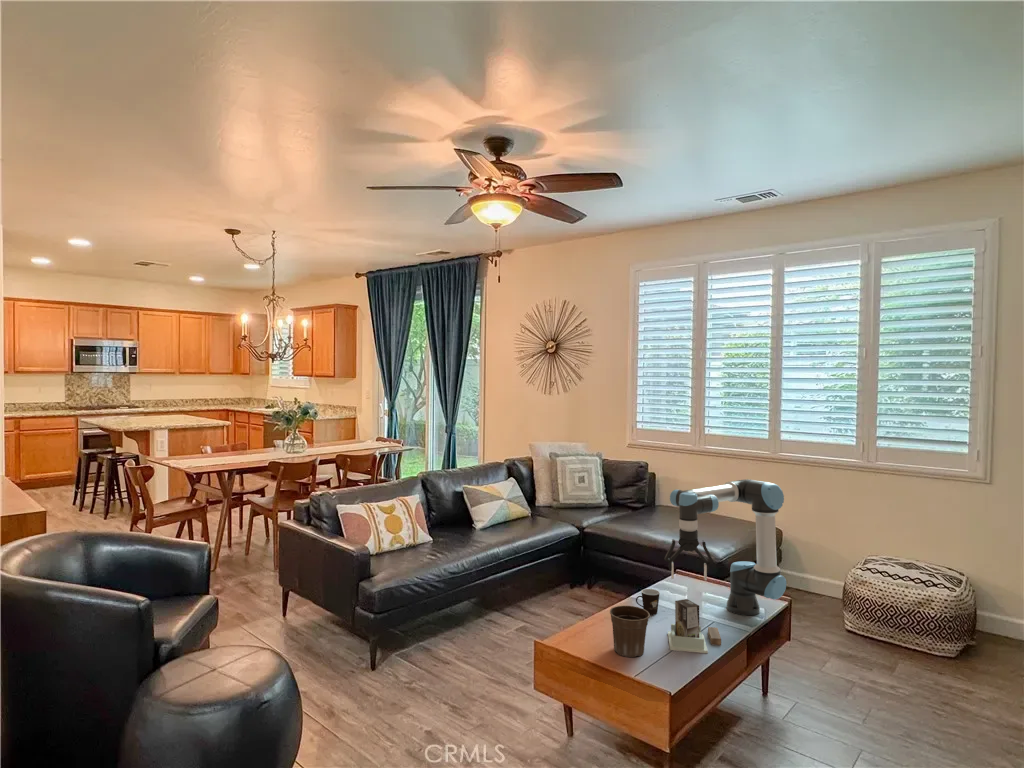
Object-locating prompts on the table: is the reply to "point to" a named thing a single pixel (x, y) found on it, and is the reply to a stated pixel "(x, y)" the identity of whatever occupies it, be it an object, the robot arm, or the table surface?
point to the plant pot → (629, 630)
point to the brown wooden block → (714, 636)
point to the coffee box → (686, 619)
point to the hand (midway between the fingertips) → (688, 578)
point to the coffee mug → (650, 600)
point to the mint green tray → (686, 642)
